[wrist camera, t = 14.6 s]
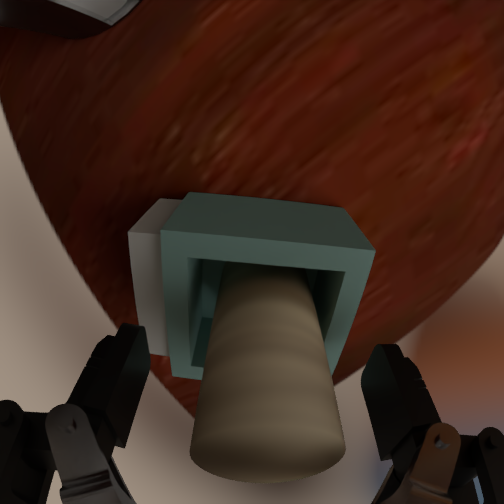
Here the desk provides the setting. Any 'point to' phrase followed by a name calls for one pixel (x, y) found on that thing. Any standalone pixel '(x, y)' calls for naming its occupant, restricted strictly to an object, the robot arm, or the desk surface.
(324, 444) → the dowel
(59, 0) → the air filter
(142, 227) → the grey flat slab
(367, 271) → the grey-green open box
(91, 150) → the desk surface
